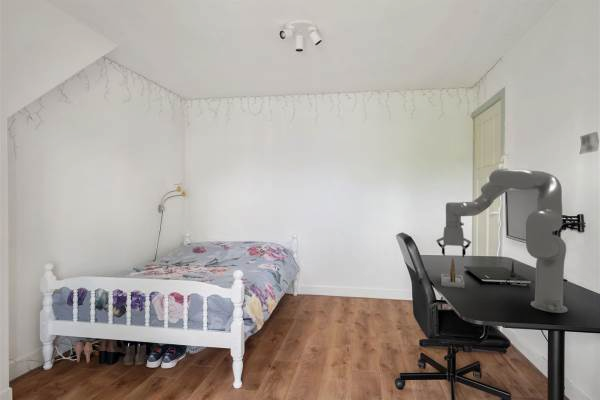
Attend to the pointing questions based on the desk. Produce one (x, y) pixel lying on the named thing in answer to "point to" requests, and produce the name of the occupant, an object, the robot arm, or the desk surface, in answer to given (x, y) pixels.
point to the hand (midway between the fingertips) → (453, 255)
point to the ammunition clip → (452, 271)
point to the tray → (447, 282)
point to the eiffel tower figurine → (512, 276)
